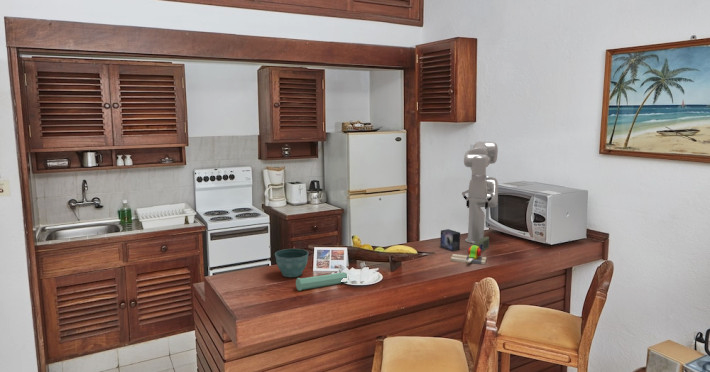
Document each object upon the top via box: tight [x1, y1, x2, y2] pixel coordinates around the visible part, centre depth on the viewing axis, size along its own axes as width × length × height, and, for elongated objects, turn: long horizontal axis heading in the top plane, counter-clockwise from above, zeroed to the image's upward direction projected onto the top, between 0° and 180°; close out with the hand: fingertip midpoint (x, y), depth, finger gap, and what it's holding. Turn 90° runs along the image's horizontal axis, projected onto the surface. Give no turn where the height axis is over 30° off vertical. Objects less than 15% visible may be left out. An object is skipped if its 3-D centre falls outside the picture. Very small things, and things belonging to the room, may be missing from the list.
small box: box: [439, 228, 461, 252], centre depth 293 cm, size 11×6×10 cm, turn 33°
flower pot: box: [274, 248, 309, 278], centre depth 242 cm, size 16×16×11 cm
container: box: [295, 271, 348, 292], centre depth 228 cm, size 6×6×25 cm
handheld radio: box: [472, 236, 490, 253], centre depth 288 cm, size 7×3×25 cm
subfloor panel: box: [450, 253, 487, 265], centre depth 270 cm, size 9×18×2 cm, turn 72°
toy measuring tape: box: [464, 244, 482, 264], centre depth 267 cm, size 6×19×7 cm, turn 150°
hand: (476, 208), depth 280 cm, fingers open, 9 cm apart
